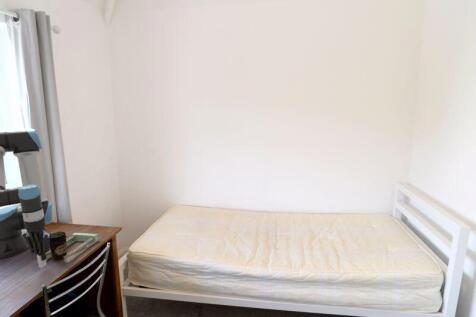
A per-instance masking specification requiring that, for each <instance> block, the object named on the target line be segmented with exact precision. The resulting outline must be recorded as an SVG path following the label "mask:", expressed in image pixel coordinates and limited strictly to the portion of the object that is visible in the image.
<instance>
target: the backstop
mask: <svg viewBox="0 0 476 317" xmlns="http://www.w3.org/2000/svg"><path fill="white" fill-rule="evenodd" d="M71 236H75V238H76V241H75V242H83V243H84V242H86V241H87V240H89V239H90V238H91V237H95V243H97V242H98V241H99V240H98V239H99V238H98V234H97V233H86V232H85V233H84V232H74V233H72V234H71Z"/></svg>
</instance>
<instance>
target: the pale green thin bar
mask: <svg viewBox="0 0 476 317" xmlns="http://www.w3.org/2000/svg"><path fill="white" fill-rule="evenodd" d="M66 241H67V248H68V247H69V246H71V245H73V244H74V243H75V242H77V241H76V238H75V236H72V235H71V236H70V237H68V238H66ZM51 258H52V255H51V252H50V249H49V251H48V252H47V253H46V262H47V261H48V260H49V259H51Z"/></svg>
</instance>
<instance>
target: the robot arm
mask: <svg viewBox="0 0 476 317" xmlns="http://www.w3.org/2000/svg"><path fill="white" fill-rule="evenodd" d="M37 131H38V130H36V129H33V128H20V129H6V130H0V259H5V258H9V257H13V256H17V255H19V254H21V253H23V252H25V251H27V250H28V248H29V250H30V253H31V254H34V255H35V258H36V260H37V265H38V268H39V269H42V268H44V267H46V266H47V261H46V253H47V252H48V251H49V250H50V248H49V246H50V236H51V234H52V233H51V232H47V230H46V228H45V226H46V225H49V224H51V223H52V221H53V207H52V206H53V204H52V202H49V200H48V198H46V197H45V194H44V189H43V183H42V177H41V171H40V166H39V160H38V155H39V154H40V153H41V151H40V150H42V149H43V147H42V143H41V140H40V137H39V134H38V132H37ZM6 153H12V154H13V156H15V157H16V158H17V162H18V169H19V173H20V178H21V179H20V180H21V185H22V186H19V187H12V188H7V186H6V174H5V173H6V172H5V162H4V160H5V159H4V156H6ZM18 204H20V207H19V208H18V207H17V206H16V205H18ZM2 207H3V208H2ZM23 230H26V232H25V233H23Z"/></svg>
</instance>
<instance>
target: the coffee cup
mask: <svg viewBox="0 0 476 317" xmlns="http://www.w3.org/2000/svg"><path fill="white" fill-rule="evenodd" d="M67 237H68V236H67V235H66V232H65V231H56V232H53V233H51V236H50V246H49V250H50V252H51V255H52V257H51V258H52V261H53V262H61V261H64V256H66V255H67V254H68V247H67V241H66V240H67Z"/></svg>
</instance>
